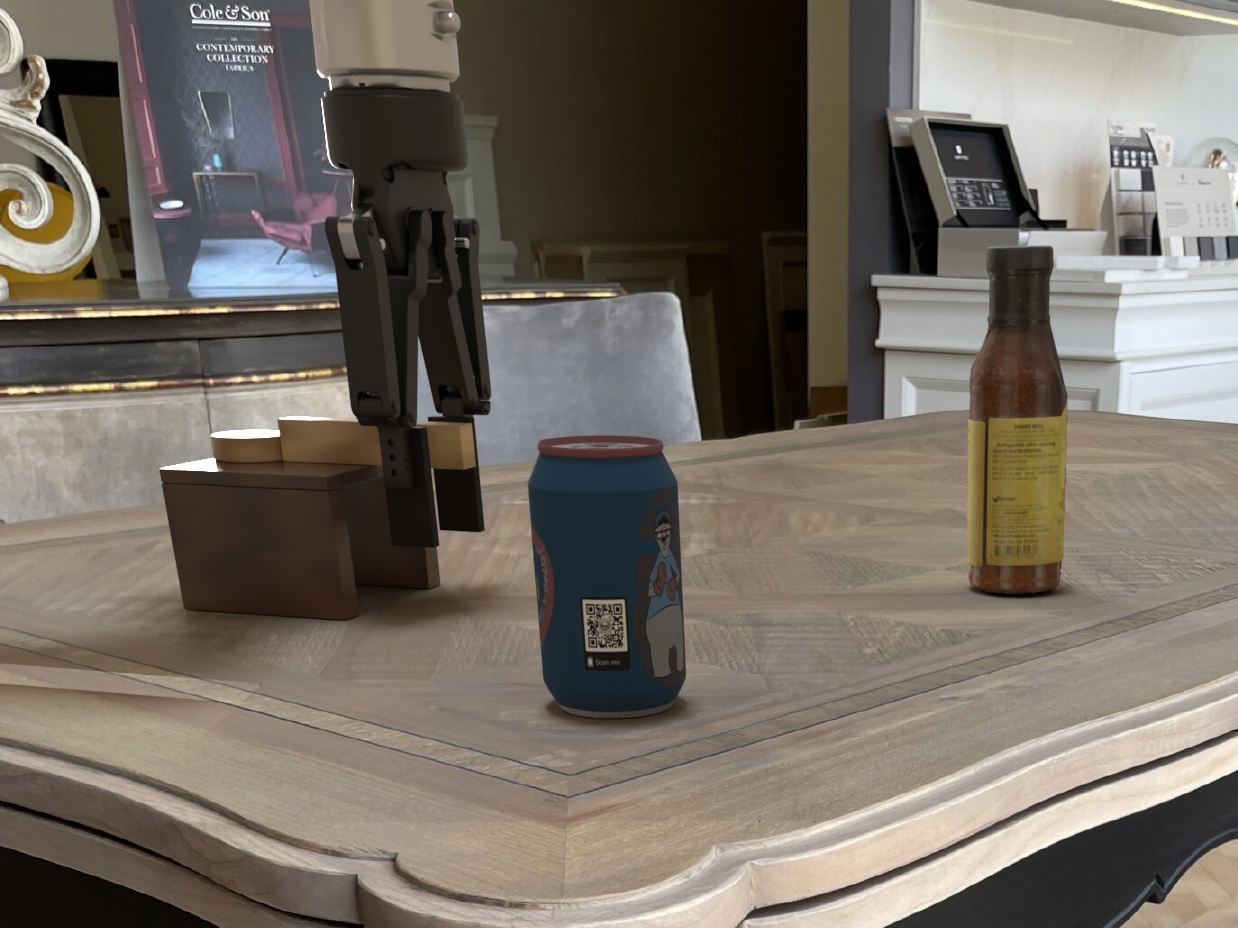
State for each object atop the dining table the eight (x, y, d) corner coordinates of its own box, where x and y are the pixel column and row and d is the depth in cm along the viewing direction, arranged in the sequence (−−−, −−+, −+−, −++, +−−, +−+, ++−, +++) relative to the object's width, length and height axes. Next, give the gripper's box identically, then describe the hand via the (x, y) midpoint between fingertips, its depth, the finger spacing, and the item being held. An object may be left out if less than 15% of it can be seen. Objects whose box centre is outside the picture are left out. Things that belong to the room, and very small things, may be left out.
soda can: (554, 687, 86) (534, 433, 81) (690, 687, 87) (680, 433, 81) (536, 722, 80) (513, 449, 75) (683, 721, 81) (671, 450, 75)
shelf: (183, 609, 103) (158, 468, 99) (291, 575, 113) (272, 446, 109) (345, 620, 100) (326, 476, 97) (441, 584, 111) (426, 452, 107)
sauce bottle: (1080, 589, 111) (1103, 245, 101) (1017, 601, 107) (1035, 245, 98) (1005, 575, 115) (1020, 244, 106) (942, 587, 111) (951, 244, 102)
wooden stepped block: (198, 461, 102) (191, 418, 101) (242, 452, 106) (235, 411, 105) (452, 472, 98) (447, 428, 97) (487, 463, 102) (483, 420, 101)
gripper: (367, 72, 83) (423, 566, 94) (527, 97, 99) (558, 519, 110) (232, 74, 85) (303, 559, 96) (410, 98, 100) (453, 513, 112)
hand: (439, 536), depth 103 cm, fingers open, 5 cm apart
